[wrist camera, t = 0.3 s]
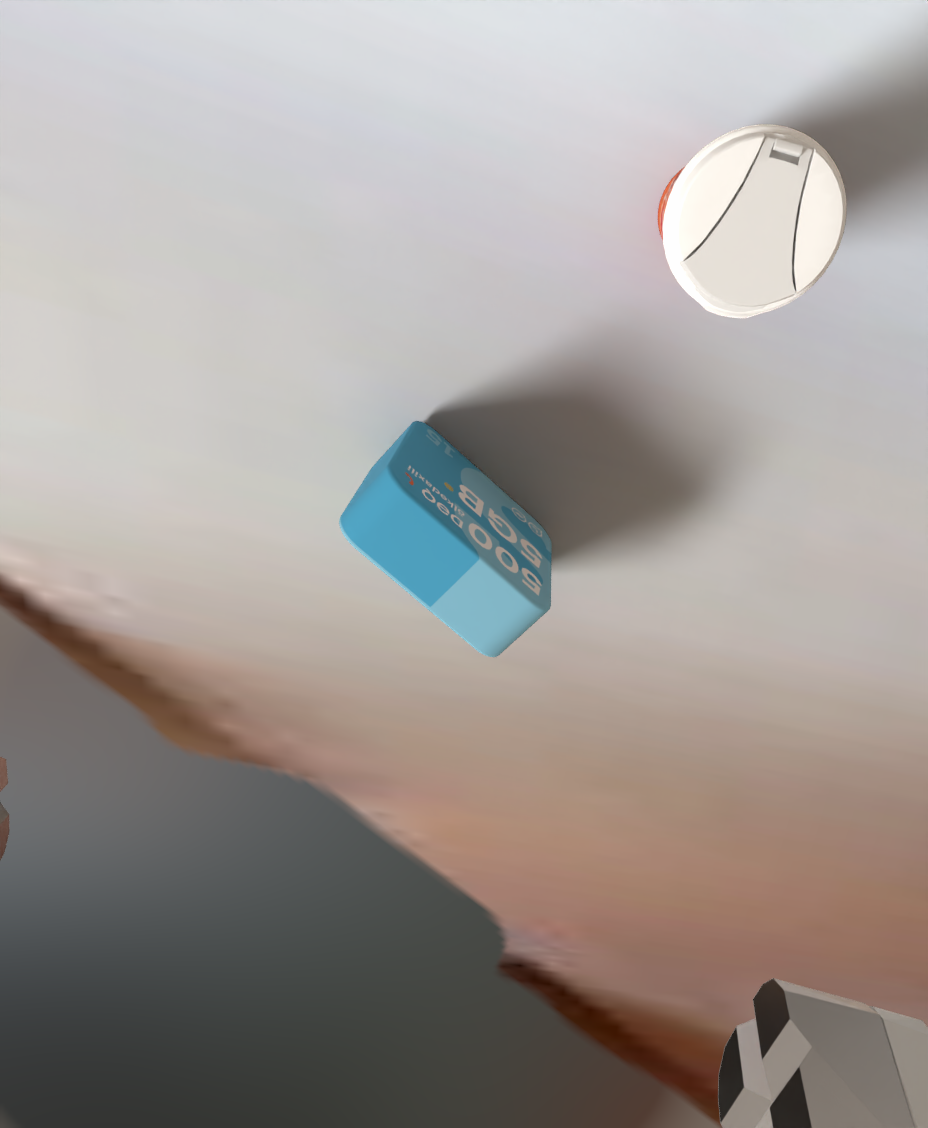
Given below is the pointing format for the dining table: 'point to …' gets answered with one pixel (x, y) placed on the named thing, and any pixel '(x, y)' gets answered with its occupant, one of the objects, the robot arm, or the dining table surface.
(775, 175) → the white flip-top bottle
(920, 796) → the dining table surface
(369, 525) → the data package
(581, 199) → the dining table surface
